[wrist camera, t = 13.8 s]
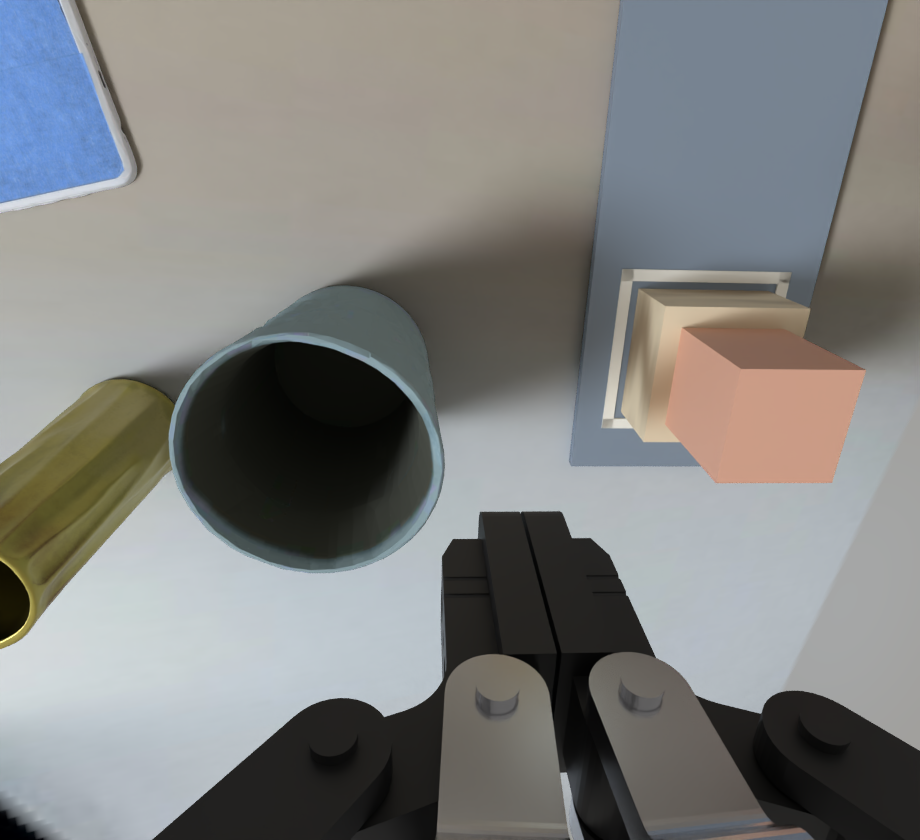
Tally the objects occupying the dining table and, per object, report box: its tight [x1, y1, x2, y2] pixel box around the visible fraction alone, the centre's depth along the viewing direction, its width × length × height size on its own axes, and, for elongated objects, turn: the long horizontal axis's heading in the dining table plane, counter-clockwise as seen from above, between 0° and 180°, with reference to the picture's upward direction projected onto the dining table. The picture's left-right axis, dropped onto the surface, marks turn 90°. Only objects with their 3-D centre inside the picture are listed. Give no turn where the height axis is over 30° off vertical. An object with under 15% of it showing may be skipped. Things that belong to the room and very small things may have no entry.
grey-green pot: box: [169, 286, 445, 573], centre depth 28 cm, size 10×10×12 cm
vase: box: [0, 379, 175, 649], centre depth 28 cm, size 6×6×14 cm
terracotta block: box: [665, 328, 866, 483], centre depth 28 cm, size 5×5×6 cm
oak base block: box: [621, 289, 811, 442], centre depth 32 cm, size 7×7×4 cm
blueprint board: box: [569, 0, 888, 466], centre depth 32 cm, size 25×12×1 cm, turn 178°
